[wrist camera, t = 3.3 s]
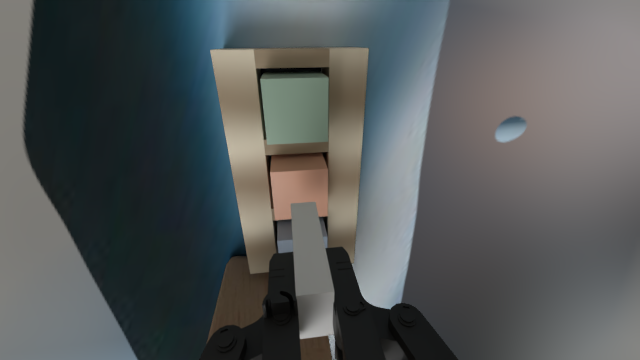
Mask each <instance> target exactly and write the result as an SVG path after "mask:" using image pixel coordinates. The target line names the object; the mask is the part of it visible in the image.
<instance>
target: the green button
mask: <svg viewBox="0 0 640 360" xmlns="http://www.w3.org/2000/svg"><path fill="white" fill-rule="evenodd" d="M260 81H261V91H262V100H263V110H264V120H265V129H266V139H267V145H272V144H292V143H312V142H328V92H329V78H328V77H327V76H326V75H324V74H323V73H322V72H321V71H301V72H264V73H263V75H262V77H261V79H260Z"/></svg>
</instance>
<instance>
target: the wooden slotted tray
mask: <svg viewBox="0 0 640 360" xmlns="http://www.w3.org/2000/svg"><path fill="white" fill-rule="evenodd" d="M210 51H211V57H212V62H213V68H214V74H215V79H216V85H217V90H218V96H219V102H220V107H221V113H222V118H223V124H224V130H225V135H226V141H227V146H228V152H229V158H230V163H231V169H232V174H233V180H234V185H235V191H236V197H237V202H238V208H239V213H240V219H241V225H242V230H243V236H244V241H245V247H246V253H247V258H248V264H249V269H250V274H255V273H264V272H269V261H270V259H271V258H272V256H273V254H275V253H278V243H277V224H276V220H275V215H274V205H273V196H272V186H271V177H270V168H271V166H270V156H269V155H280V154H298V153H316V152H322V154H323V157H324V160H325V162H326V165H327V168H328V216H322V217H323V220H324V224H325V228H326V232H327V248H332V247H343V248H344V249H345V250H346V251H347V252H348V254H349V257H350V260H351V264H352V263H354V253H355V239H356V225H357V210H358V196H359V182H360V167H361V153H362V139H363V124H364V110H365V96H366V81H367V67H368V53H369V48H360V47H318V48H225V49H214V50H210ZM308 67H321V72H322V73H323V74H324V75H326V76H327V77H328V78H329V92H328V142H312V143H292V144H272V145H267V139H266V129H265V120H264V110H263V100H262V91H261V81H260V79H261V68H308ZM285 220H288V219H285Z"/></svg>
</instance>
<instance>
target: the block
mask: <svg viewBox="0 0 640 360" xmlns="http://www.w3.org/2000/svg"><path fill="white" fill-rule="evenodd" d="M268 279H269V272H264V273H255V274H250V269H249V264H248V258H247V257H246V256H235V257H232V258H231V259H230V260H229V262H228V263H227V265H226V268H225V272H224V276H223V280H222V284H221V288H220V292H219V296H218V300H217V304H216V308H215V312H214V316H213V320H212V324H211V328H210V332H209V337H208V341H209V339H210V338H211V336H212V335H213V333H214V332H216V331H217V330H218V329H219V328H221V327H224V326H226V325H236V326H239V327H240V328H243V327H246V326H248V325H250V324H252V323H254V322H256V321H257V320H258V319H260V318H261V317H262V315H263V309H262V303H263V299H264V298H265V296H266V295H267V294H268ZM208 341H207V343H208ZM300 348H301V360H332V356H331V350H330V344H329V337H328V336H320V337H313V338H305V339H300Z"/></svg>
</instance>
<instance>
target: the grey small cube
mask: <svg viewBox="0 0 640 360" xmlns="http://www.w3.org/2000/svg"><path fill="white" fill-rule="evenodd" d="M319 221H320V226H321V230H322V235H323V240H324V244H325V248H327V232H326V228H325V224H324V220H323V217H319ZM277 243H278V253H286V252H293V237H292V219H288V220H278V230H277Z"/></svg>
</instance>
